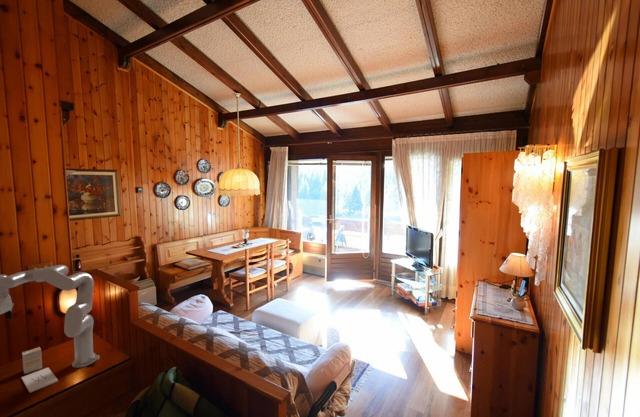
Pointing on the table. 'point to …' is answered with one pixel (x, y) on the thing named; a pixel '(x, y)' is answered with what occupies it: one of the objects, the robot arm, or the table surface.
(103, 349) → the table surface
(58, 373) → the table surface
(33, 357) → the supplement box
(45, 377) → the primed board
